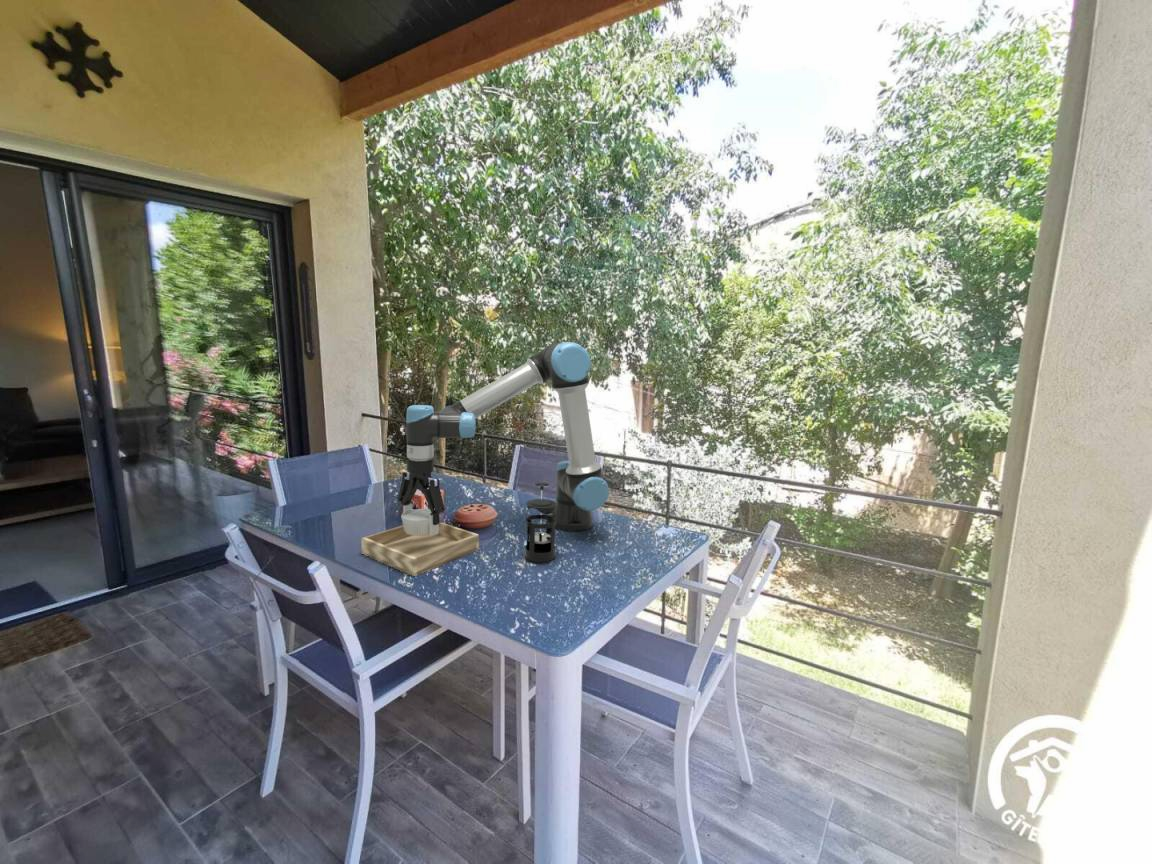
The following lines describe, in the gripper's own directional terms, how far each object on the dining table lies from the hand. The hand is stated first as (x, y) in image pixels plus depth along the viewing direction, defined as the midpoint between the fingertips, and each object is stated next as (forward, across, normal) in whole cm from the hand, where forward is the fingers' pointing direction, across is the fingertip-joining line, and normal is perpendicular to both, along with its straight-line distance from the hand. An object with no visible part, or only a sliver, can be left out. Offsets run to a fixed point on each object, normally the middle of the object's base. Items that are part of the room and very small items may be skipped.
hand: (420, 530), depth 152 cm
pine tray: (+7, 0, 0) cm, 7 cm away
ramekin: (0, 0, 0) cm, 0 cm away
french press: (+7, +30, +20) cm, 37 cm away
